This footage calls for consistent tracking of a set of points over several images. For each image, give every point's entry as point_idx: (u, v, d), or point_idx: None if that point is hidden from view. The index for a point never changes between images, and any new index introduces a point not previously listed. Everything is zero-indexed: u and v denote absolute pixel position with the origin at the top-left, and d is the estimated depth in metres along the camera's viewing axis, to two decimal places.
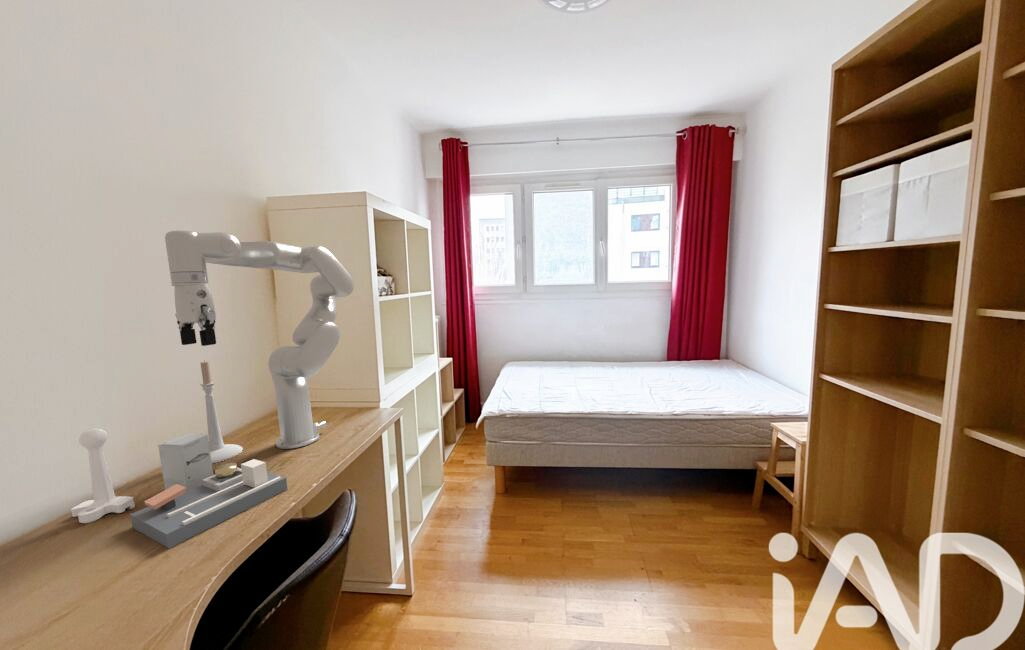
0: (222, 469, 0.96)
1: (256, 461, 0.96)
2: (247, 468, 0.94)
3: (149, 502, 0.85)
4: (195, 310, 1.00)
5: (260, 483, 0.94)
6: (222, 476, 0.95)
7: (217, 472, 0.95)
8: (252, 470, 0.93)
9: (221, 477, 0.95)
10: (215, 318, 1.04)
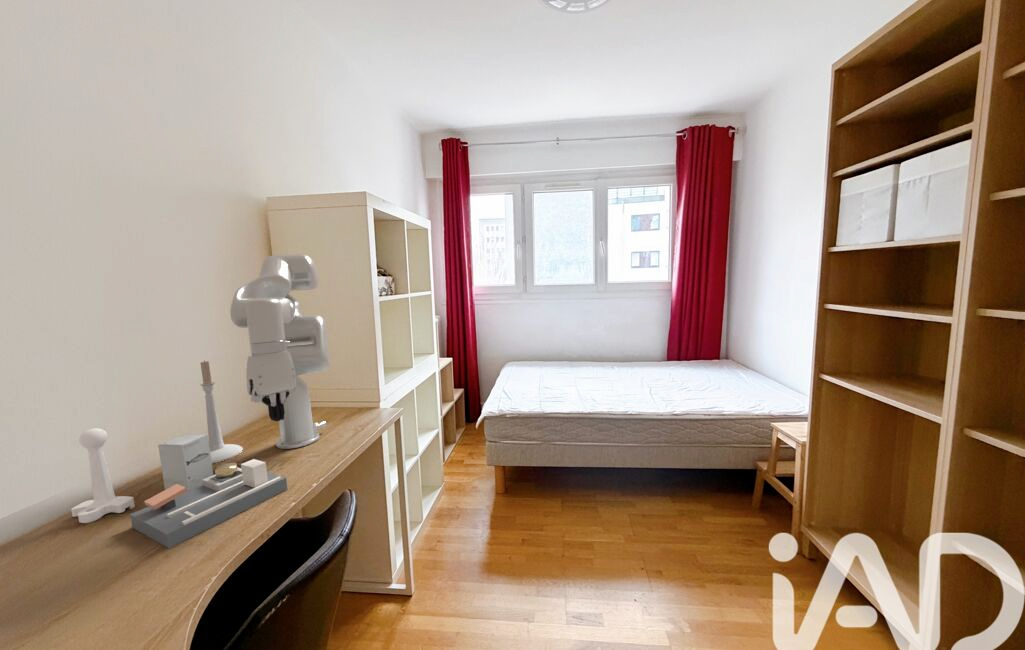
0: (222, 469, 0.96)
1: (256, 461, 0.96)
2: (247, 468, 0.94)
3: (149, 502, 0.85)
4: (295, 375, 1.02)
5: (260, 483, 0.94)
6: (222, 476, 0.95)
7: (217, 472, 0.95)
8: (252, 470, 0.93)
9: (221, 477, 0.95)
10: None
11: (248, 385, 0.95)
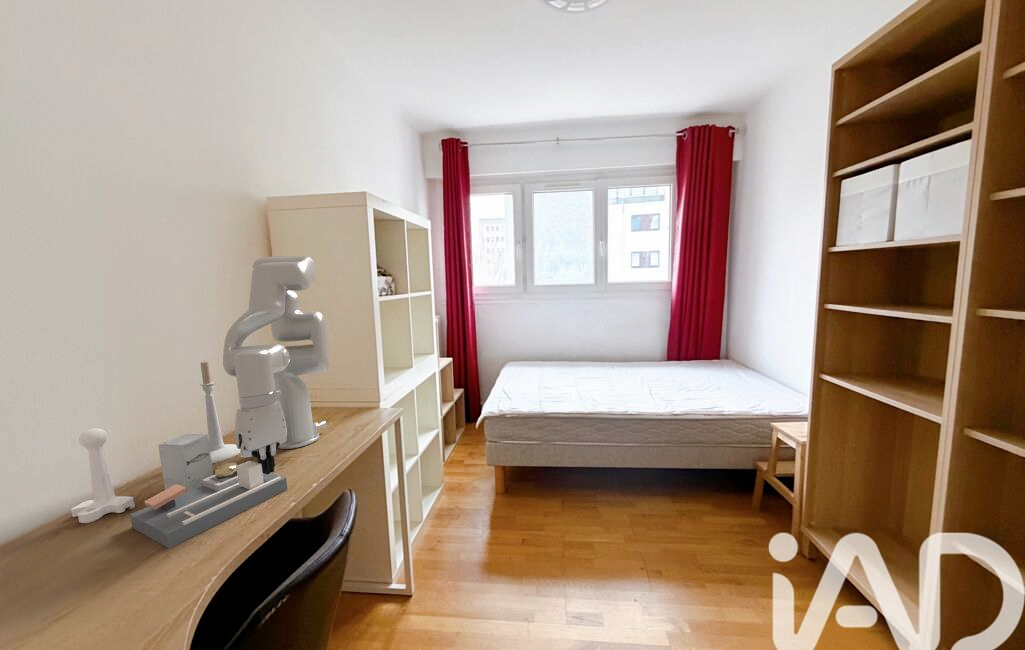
0: (222, 469, 0.96)
1: (252, 463, 0.95)
2: (243, 470, 0.93)
3: (149, 502, 0.85)
4: (285, 426, 1.00)
5: (256, 485, 0.93)
6: (222, 476, 0.95)
7: (217, 472, 0.95)
8: (247, 472, 0.92)
9: (221, 477, 0.95)
10: None
11: (237, 439, 0.93)
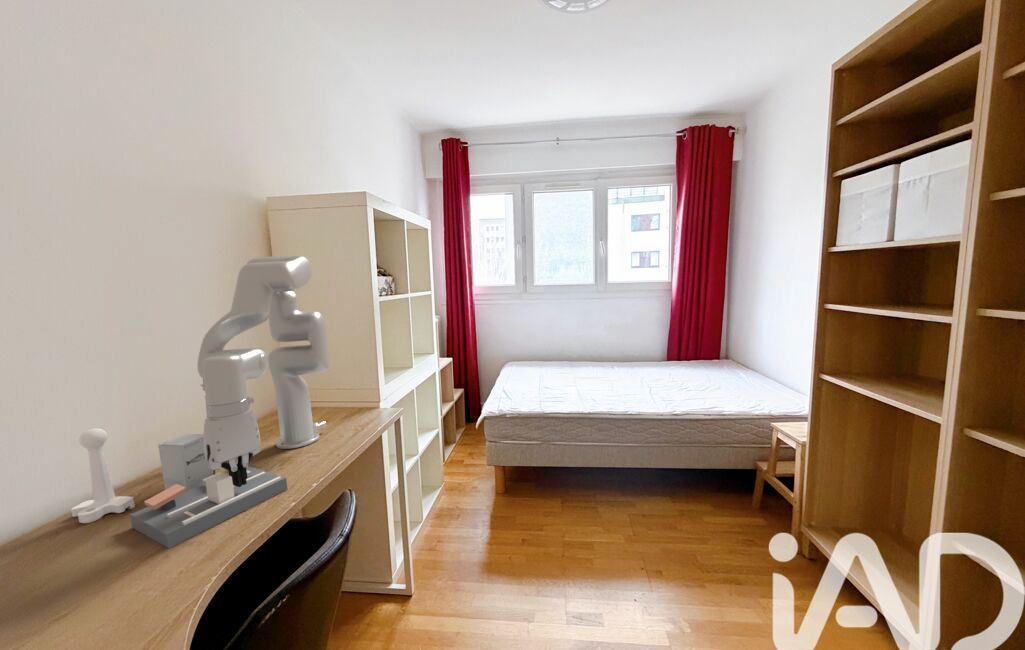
0: (222, 469, 0.96)
1: (222, 475, 0.89)
2: (211, 483, 0.87)
3: (149, 502, 0.85)
4: (259, 435, 0.94)
5: (225, 499, 0.87)
6: None
7: (217, 472, 0.95)
8: (216, 485, 0.86)
9: None
10: None
11: (205, 450, 0.87)
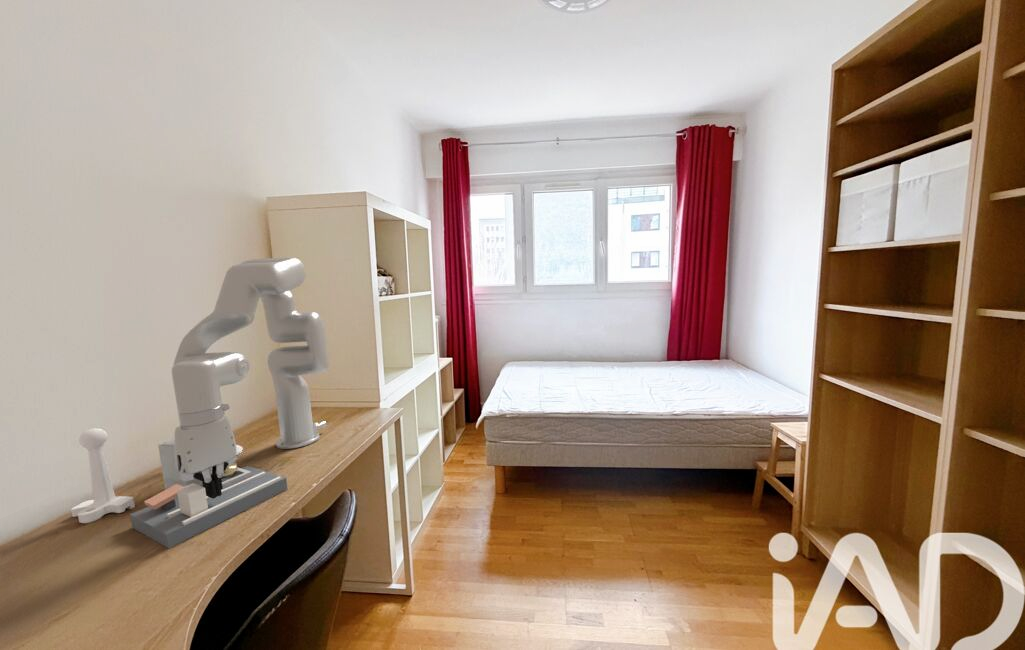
0: None
1: (195, 486, 0.85)
2: (183, 495, 0.82)
3: (149, 502, 0.85)
4: (235, 443, 0.90)
5: (198, 512, 0.83)
6: (222, 476, 0.95)
7: None
8: (187, 497, 0.82)
9: (221, 477, 0.95)
10: None
11: (176, 461, 0.83)
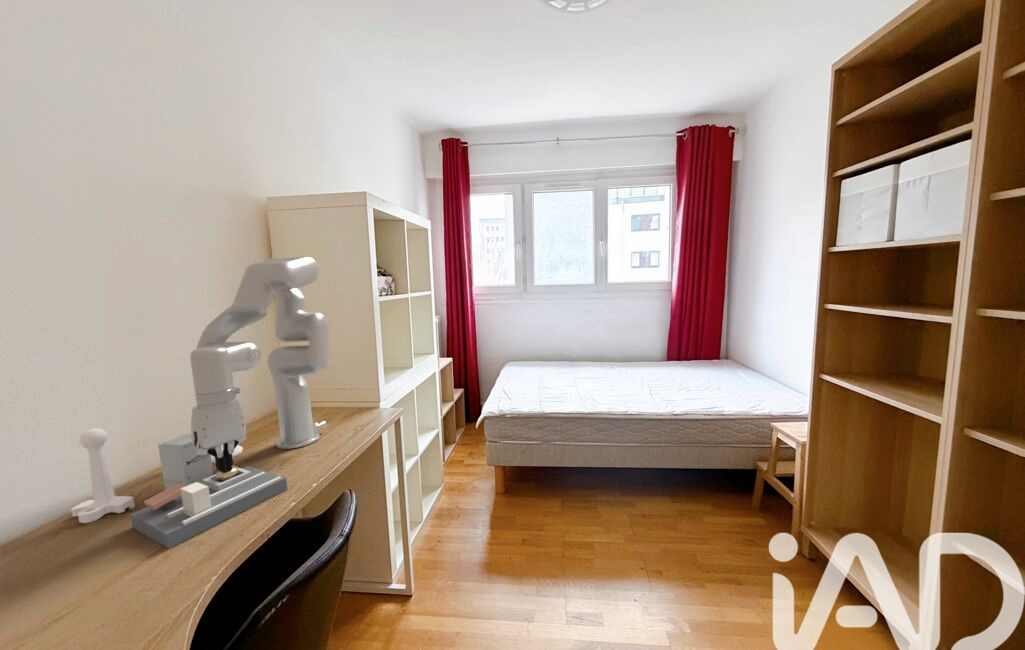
0: None
1: (198, 485, 0.85)
2: (187, 493, 0.83)
3: (149, 502, 0.85)
4: None
5: (201, 510, 0.83)
6: (222, 479, 0.95)
7: (217, 475, 0.95)
8: (191, 495, 0.82)
9: (221, 480, 0.95)
10: None
11: (192, 437, 0.92)
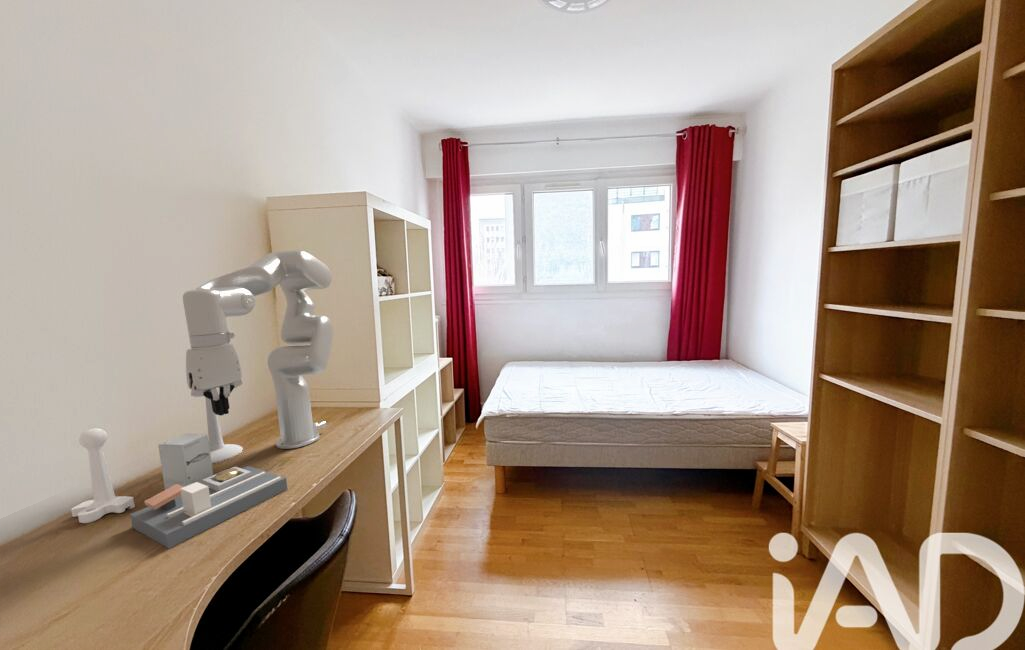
0: (223, 475, 0.96)
1: (198, 485, 0.85)
2: (187, 493, 0.83)
3: (149, 502, 0.85)
4: (240, 368, 0.99)
5: (201, 510, 0.83)
6: None
7: (218, 478, 0.95)
8: (191, 495, 0.82)
9: None
10: None
11: (188, 379, 0.92)
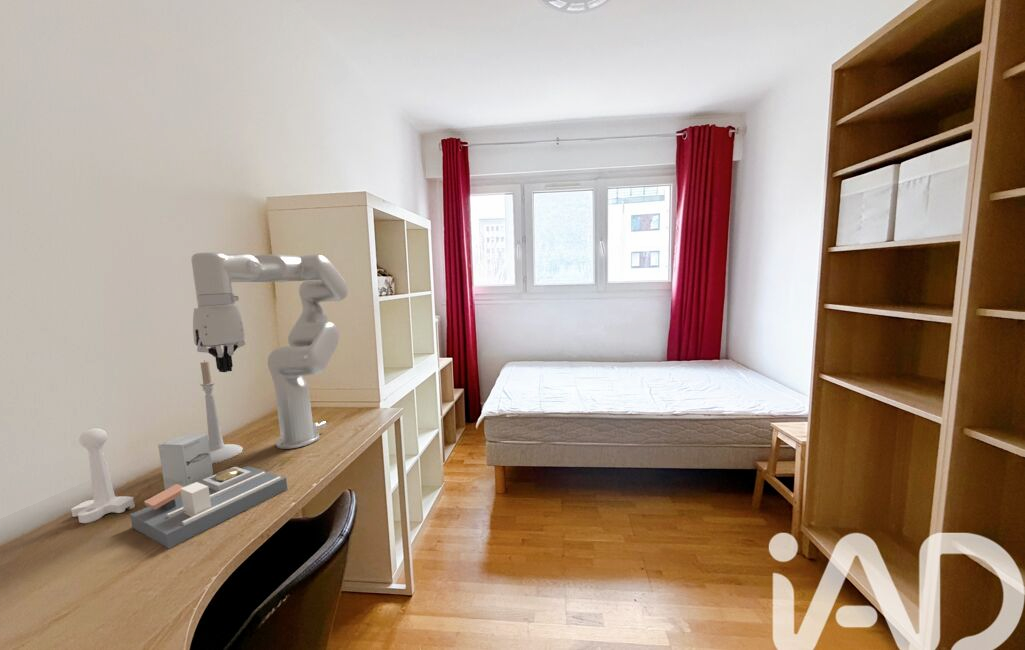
0: (223, 475, 0.96)
1: (198, 485, 0.85)
2: (187, 493, 0.83)
3: (149, 502, 0.85)
4: (243, 329, 1.06)
5: (201, 510, 0.83)
6: None
7: (218, 478, 0.95)
8: (191, 495, 0.82)
9: None
10: None
11: (194, 336, 0.99)
